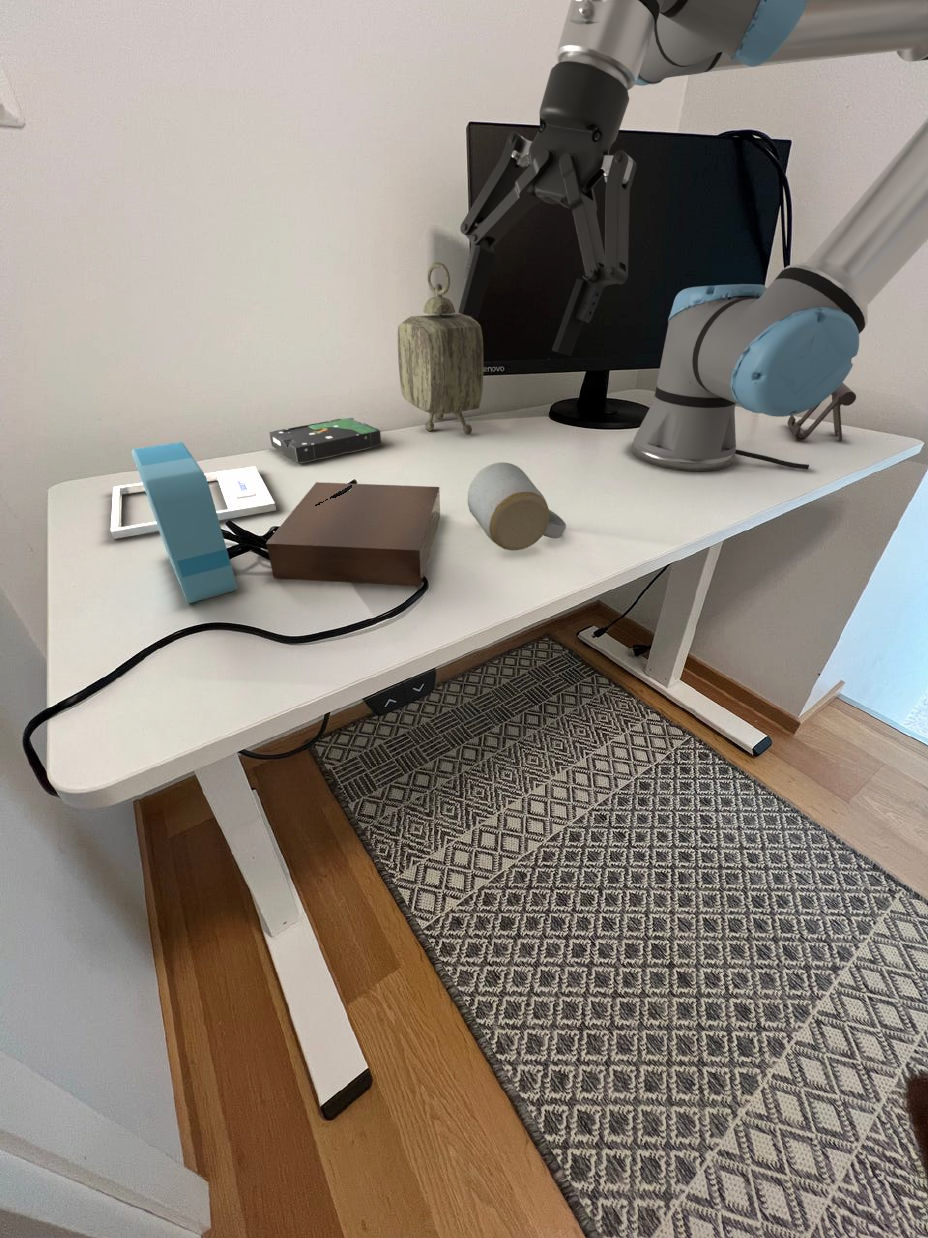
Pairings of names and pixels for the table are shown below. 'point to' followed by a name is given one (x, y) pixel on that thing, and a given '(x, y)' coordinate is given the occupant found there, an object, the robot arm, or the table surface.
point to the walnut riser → (358, 535)
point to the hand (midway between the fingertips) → (512, 333)
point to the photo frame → (241, 498)
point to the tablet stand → (824, 414)
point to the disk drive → (325, 439)
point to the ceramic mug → (511, 507)
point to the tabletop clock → (441, 358)
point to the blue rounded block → (186, 520)
